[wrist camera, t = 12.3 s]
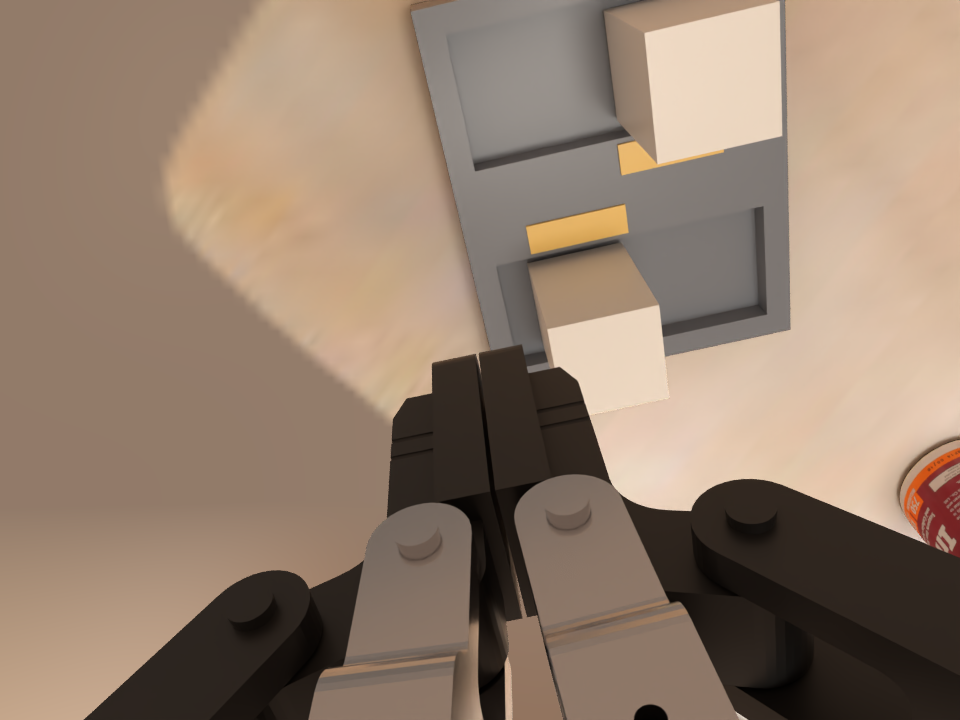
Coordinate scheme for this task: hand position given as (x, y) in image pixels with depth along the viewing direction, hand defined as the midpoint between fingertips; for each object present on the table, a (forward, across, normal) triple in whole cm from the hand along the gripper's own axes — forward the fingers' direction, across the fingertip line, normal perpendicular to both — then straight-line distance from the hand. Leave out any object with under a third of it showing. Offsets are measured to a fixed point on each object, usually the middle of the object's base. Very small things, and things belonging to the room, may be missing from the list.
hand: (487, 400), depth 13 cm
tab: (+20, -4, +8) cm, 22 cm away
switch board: (+21, -6, +4) cm, 22 cm away
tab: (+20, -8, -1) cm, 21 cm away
